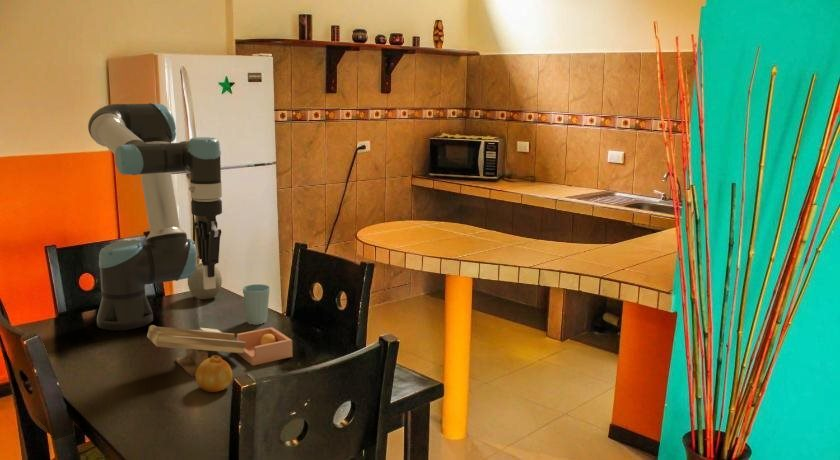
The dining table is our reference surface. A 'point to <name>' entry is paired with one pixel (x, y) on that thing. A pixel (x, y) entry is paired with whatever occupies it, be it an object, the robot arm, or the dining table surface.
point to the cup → (256, 303)
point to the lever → (195, 339)
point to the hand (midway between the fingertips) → (209, 288)
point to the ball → (267, 339)
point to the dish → (264, 346)
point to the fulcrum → (192, 360)
